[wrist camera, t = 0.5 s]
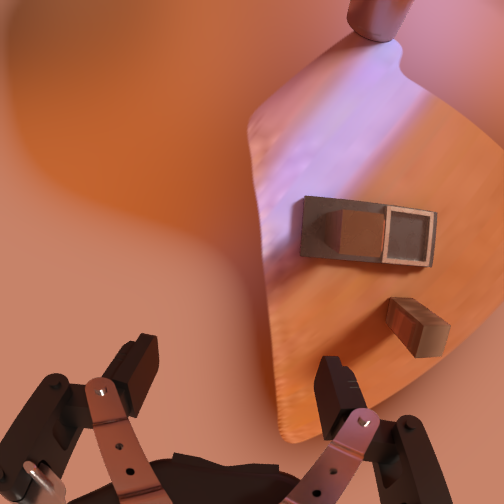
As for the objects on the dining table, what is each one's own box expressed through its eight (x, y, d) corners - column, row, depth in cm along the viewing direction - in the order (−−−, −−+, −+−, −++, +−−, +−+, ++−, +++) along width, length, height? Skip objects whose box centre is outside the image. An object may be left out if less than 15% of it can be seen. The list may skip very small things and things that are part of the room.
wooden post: (412, 298, 36) (450, 325, 24) (407, 322, 37) (441, 356, 25) (387, 297, 37) (420, 325, 25) (382, 322, 37) (411, 358, 25)
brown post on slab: (432, 212, 34) (485, 211, 21) (427, 265, 35) (477, 285, 22) (304, 196, 37) (311, 183, 24) (299, 254, 38) (304, 273, 25)
